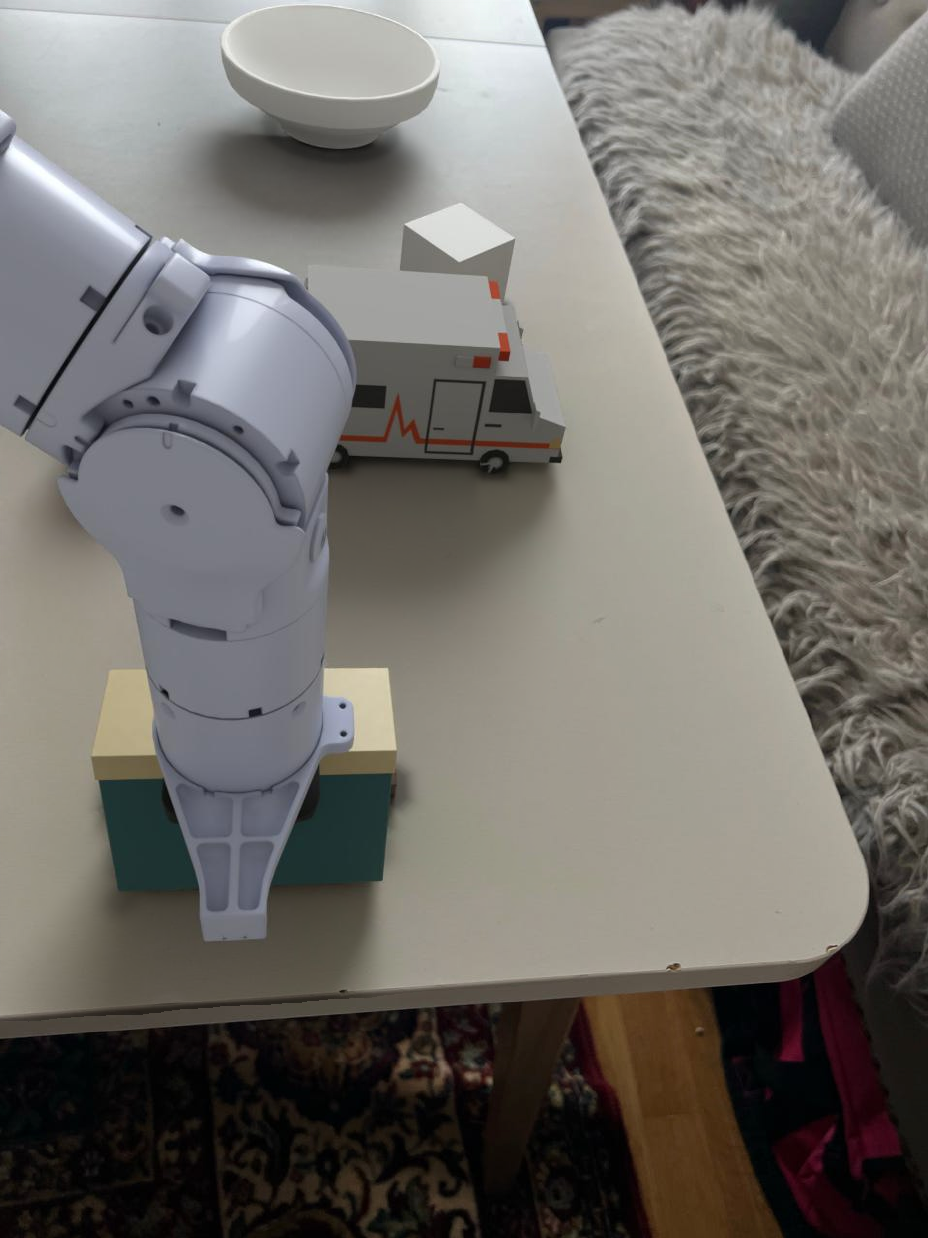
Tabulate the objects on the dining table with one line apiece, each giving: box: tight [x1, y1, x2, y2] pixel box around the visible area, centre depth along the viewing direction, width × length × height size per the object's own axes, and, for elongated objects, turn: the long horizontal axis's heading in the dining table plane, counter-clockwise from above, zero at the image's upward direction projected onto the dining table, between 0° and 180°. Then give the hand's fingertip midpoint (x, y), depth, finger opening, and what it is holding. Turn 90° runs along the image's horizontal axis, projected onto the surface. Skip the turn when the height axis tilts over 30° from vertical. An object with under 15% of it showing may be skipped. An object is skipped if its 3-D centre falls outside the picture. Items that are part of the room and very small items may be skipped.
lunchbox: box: [90, 667, 398, 893], centre depth 46 cm, size 12×5×9 cm, turn 96°
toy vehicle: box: [303, 264, 567, 475], centre depth 66 cm, size 10×17×10 cm, turn 95°
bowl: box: [219, 3, 442, 150], centre depth 93 cm, size 20×20×7 cm
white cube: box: [399, 202, 516, 305], centre depth 78 cm, size 6×6×6 cm
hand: (249, 839), depth 43 cm, fingers closed
